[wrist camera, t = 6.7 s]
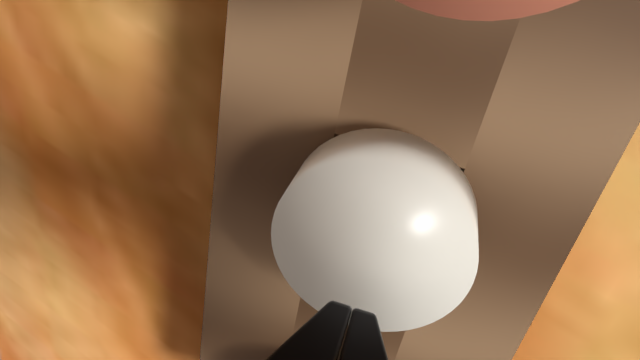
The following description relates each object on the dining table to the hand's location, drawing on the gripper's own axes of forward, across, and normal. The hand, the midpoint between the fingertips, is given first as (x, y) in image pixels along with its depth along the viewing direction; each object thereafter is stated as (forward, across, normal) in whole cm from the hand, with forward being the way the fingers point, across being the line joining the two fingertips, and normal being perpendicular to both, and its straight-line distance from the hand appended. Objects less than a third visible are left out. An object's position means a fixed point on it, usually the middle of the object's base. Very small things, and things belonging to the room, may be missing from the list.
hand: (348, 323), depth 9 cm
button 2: (+8, 0, 0) cm, 8 cm away
